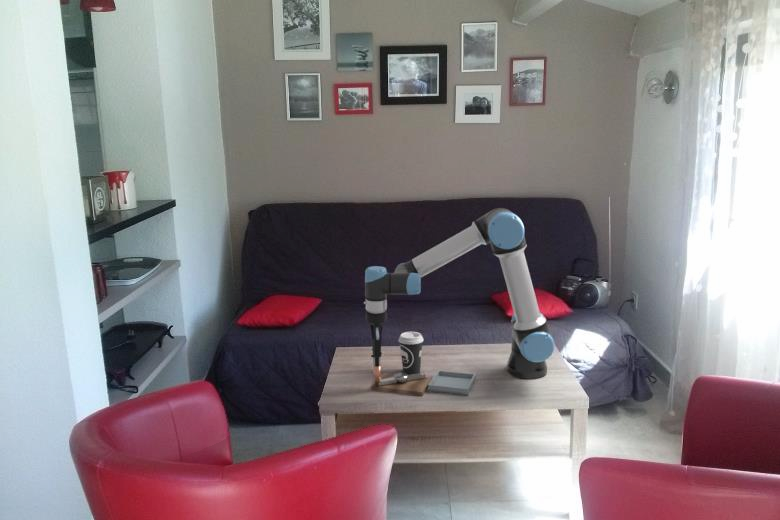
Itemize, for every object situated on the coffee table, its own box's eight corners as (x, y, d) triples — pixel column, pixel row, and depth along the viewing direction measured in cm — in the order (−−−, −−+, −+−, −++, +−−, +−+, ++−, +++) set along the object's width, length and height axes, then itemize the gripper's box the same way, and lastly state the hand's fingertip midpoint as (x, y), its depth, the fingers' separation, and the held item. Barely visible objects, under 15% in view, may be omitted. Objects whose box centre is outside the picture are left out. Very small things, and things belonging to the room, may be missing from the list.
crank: (421, 374, 236) (421, 356, 234) (426, 379, 231) (426, 360, 230) (372, 382, 229) (371, 364, 228) (376, 387, 225) (376, 368, 223)
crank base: (432, 381, 233) (432, 378, 233) (422, 396, 221) (422, 392, 221) (383, 376, 239) (383, 372, 239) (371, 390, 227) (371, 386, 227)
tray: (476, 380, 233) (476, 373, 233) (467, 395, 220) (467, 389, 220) (438, 376, 238) (438, 370, 238) (427, 391, 225) (427, 384, 224)
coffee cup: (422, 377, 237) (421, 339, 234) (397, 376, 239) (396, 338, 236) (425, 368, 246) (425, 331, 243) (401, 367, 248) (400, 330, 245)
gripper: (364, 305, 229) (365, 366, 234) (366, 316, 217) (367, 380, 222) (385, 304, 230) (385, 365, 235) (388, 315, 217) (388, 379, 223)
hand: (376, 372), depth 228 cm, fingers closed
